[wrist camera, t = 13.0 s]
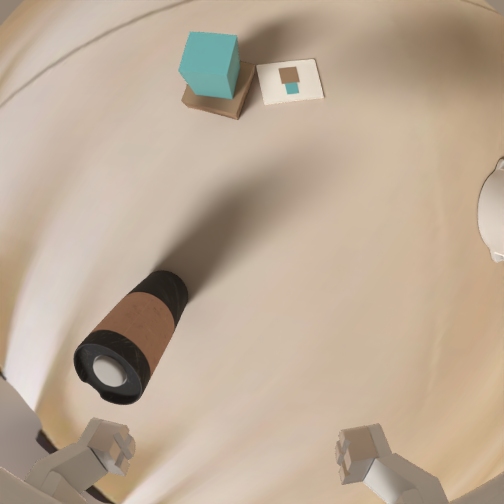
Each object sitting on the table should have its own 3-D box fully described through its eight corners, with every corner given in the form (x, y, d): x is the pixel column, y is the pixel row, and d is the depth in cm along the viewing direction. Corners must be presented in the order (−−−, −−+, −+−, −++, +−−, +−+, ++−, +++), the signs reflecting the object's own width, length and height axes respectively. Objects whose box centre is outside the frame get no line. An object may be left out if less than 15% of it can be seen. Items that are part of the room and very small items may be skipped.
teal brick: (240, 66, 29) (237, 35, 21) (232, 99, 30) (226, 75, 22) (203, 62, 29) (190, 31, 20) (195, 94, 30) (178, 71, 22)
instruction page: (313, 59, 32) (314, 58, 31) (323, 98, 33) (324, 97, 33) (255, 66, 32) (255, 65, 32) (264, 105, 34) (264, 104, 33)
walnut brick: (254, 74, 33) (254, 64, 29) (238, 120, 35) (235, 114, 31) (205, 63, 33) (200, 52, 29) (188, 107, 34) (181, 101, 31)
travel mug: (188, 269, 40) (134, 349, 21) (191, 317, 42) (150, 412, 23) (139, 267, 40) (62, 335, 21) (144, 313, 42) (84, 397, 23)
